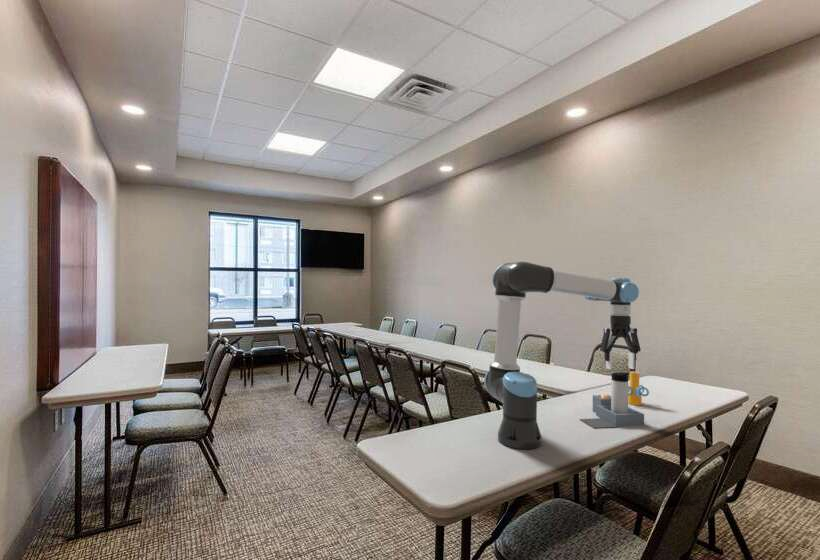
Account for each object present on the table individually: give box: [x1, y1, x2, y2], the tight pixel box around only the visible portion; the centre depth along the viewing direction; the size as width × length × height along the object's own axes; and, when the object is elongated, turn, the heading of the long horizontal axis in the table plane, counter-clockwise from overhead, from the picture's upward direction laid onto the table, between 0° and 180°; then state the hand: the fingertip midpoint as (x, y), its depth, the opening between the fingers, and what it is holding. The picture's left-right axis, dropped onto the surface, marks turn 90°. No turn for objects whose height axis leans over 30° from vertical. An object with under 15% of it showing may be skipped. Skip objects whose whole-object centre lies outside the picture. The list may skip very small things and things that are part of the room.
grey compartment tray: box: [592, 394, 645, 427], centre depth 169 cm, size 12×19×7 cm, turn 8°
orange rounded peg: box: [600, 394, 609, 399], centre depth 176 cm, size 3×3×7 cm
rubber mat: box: [579, 417, 618, 429], centre depth 162 cm, size 10×10×1 cm
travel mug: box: [610, 372, 630, 414], centre depth 166 cm, size 6×7×20 cm
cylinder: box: [628, 371, 650, 406], centre depth 190 cm, size 12×10×15 cm
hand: (620, 368), depth 166 cm, fingers open, 9 cm apart
